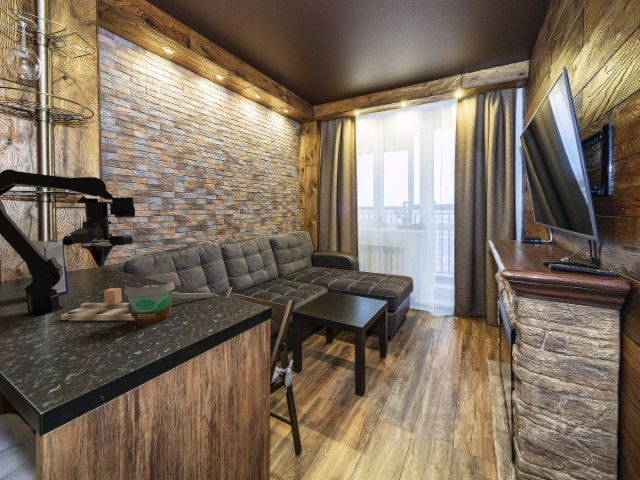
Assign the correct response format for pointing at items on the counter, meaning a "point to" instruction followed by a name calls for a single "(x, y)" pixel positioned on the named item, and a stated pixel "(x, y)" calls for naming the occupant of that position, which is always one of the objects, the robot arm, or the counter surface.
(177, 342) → the counter surface
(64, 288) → the milk carton
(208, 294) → the caliper
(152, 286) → the food container
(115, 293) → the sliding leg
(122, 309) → the hole plate
